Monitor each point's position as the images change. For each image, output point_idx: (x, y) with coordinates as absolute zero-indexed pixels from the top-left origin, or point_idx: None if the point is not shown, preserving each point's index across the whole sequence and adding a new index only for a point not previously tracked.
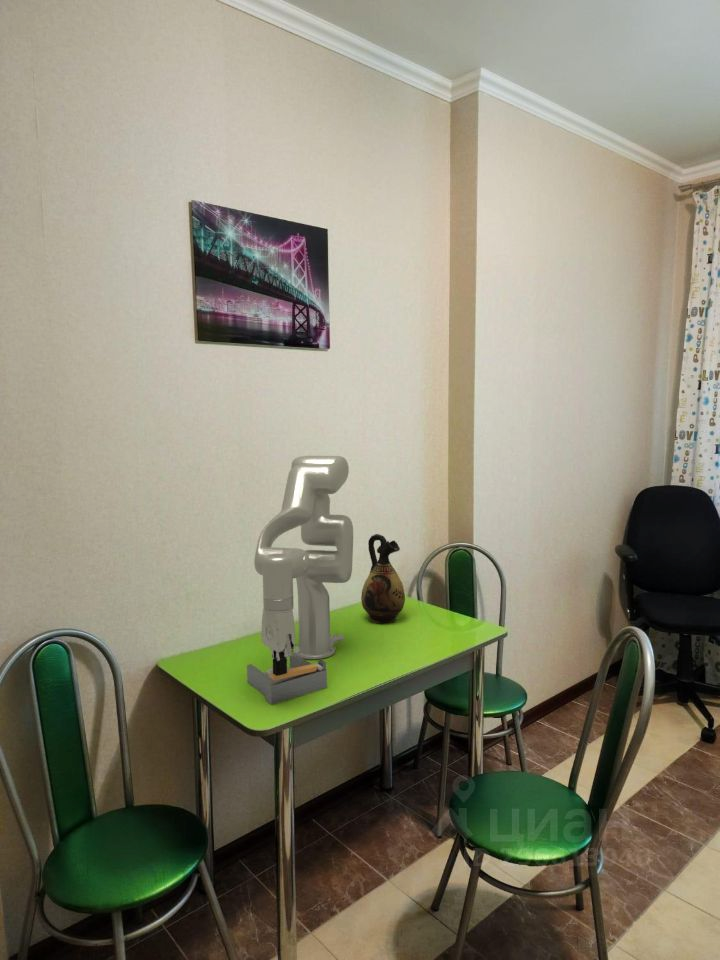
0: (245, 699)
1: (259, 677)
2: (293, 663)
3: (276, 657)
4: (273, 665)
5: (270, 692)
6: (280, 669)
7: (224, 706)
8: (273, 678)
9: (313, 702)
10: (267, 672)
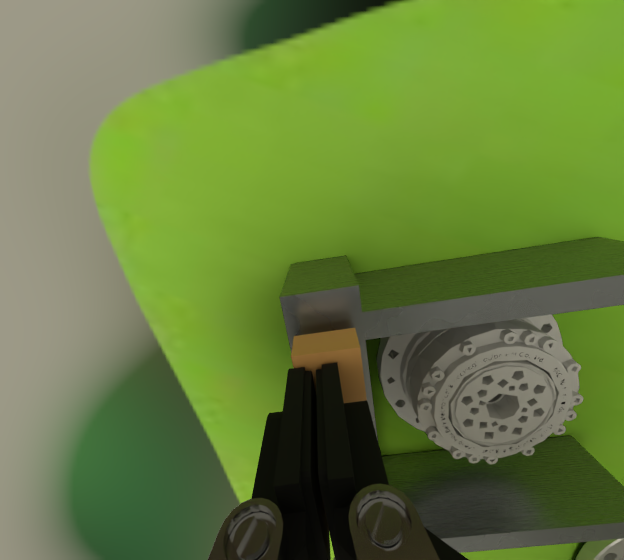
0: (417, 167)
1: (496, 282)
2: (572, 480)
3: (272, 545)
4: (330, 416)
5: (294, 280)
6: (267, 433)
7: (401, 22)
8: (306, 340)
9: (240, 410)
10: (539, 346)
